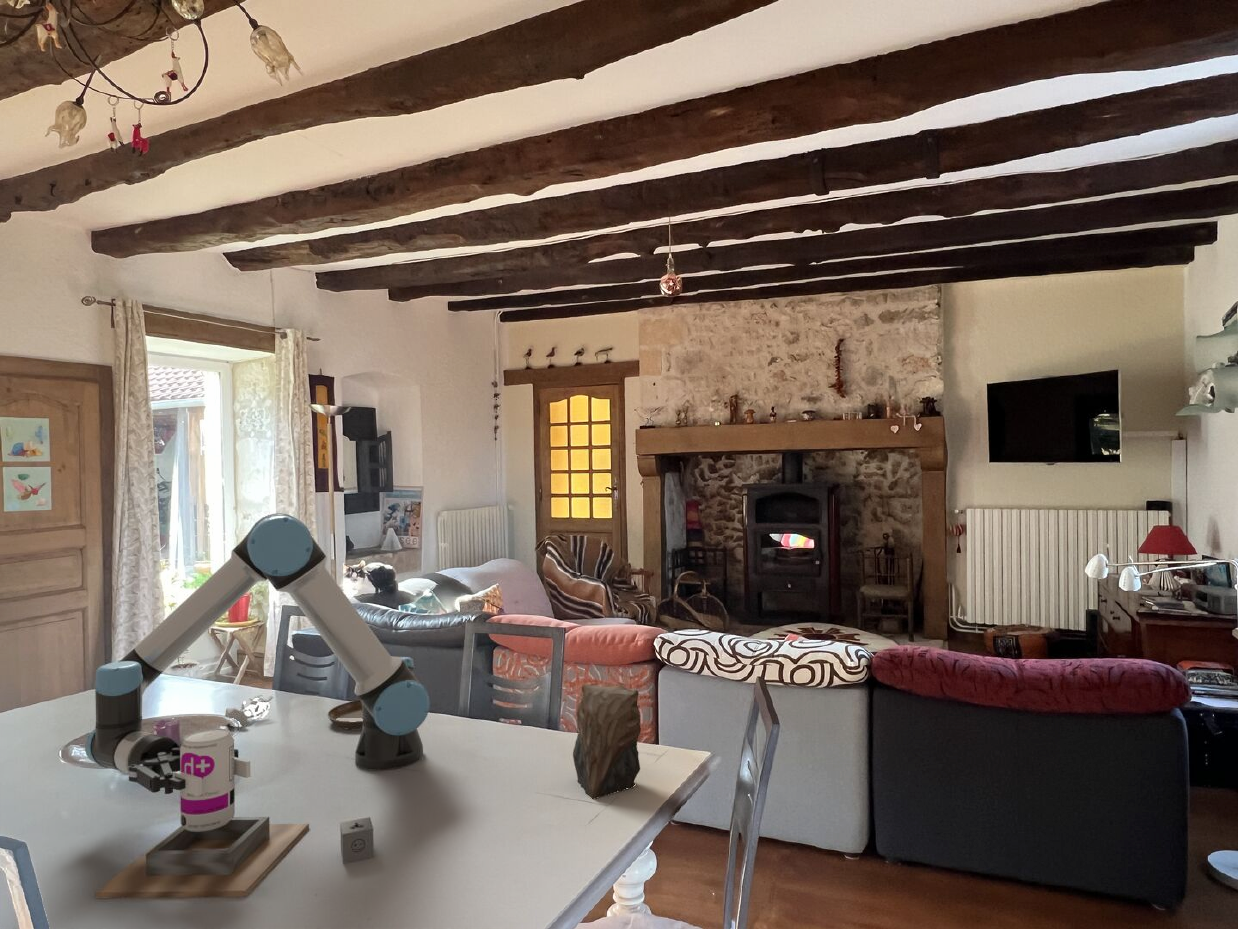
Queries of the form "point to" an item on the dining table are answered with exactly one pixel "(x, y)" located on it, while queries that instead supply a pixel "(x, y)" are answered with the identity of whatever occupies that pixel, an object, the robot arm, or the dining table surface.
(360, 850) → the dice cube
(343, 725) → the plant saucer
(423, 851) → the dining table surface
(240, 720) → the figurine
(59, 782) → the dining table surface
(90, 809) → the dining table surface
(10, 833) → the dining table surface
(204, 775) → the supplement can
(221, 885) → the collar board
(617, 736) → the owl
